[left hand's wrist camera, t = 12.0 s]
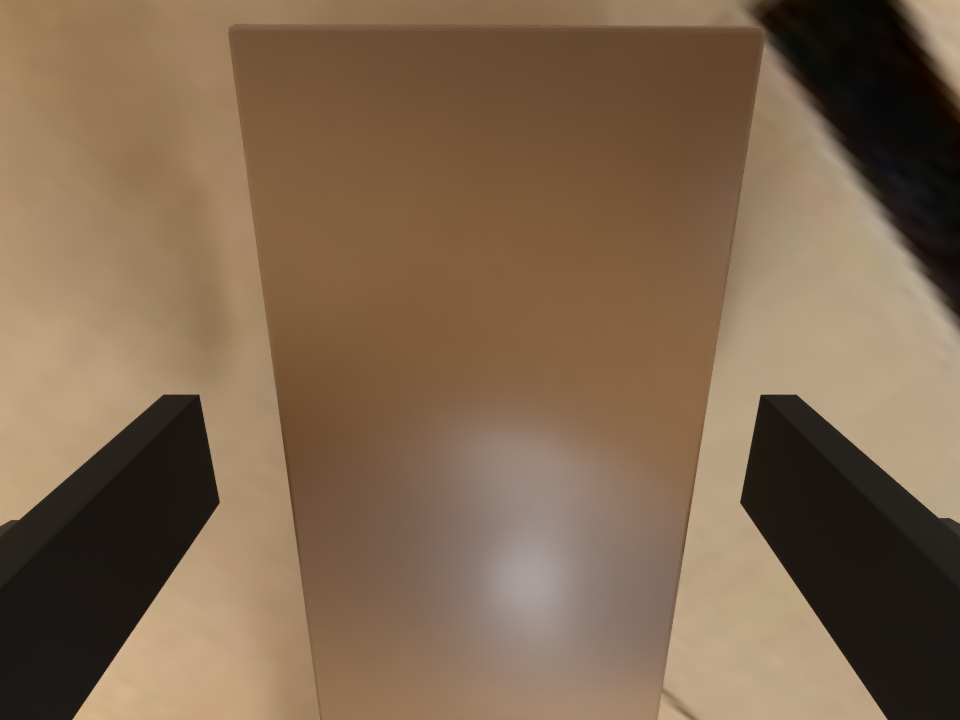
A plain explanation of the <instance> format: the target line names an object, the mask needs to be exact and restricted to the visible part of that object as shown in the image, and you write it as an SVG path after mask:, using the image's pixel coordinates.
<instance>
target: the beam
mask: <svg viewBox="0 0 960 720" xmlns="http://www.w3.org/2000/svg"><path fill="white" fill-rule="evenodd" d="M228 34H229V42H230V49H231V57H232V64H233V72H234V79H235V86H236V94H237V101H238V109H239V116H240V124H241V131H242V139H243V146H244V154H245V161H246V168H247V176H248V183H249V191H250V198H251V206H252V213H253V221H254V228H255V236H256V243H257V250H258V258H259V265H260V273H261V280H262V288H263V295H264V303H265V310H266V318H267V325H268V332H269V340H270V347H271V355H272V362H273V370H274V377H275V385H276V392H277V400H278V407H279V414H280V422H281V429H282V437H283V444H284V452H285V459H286V467H287V474H288V482H289V489H290V496H291V504H292V511H293V519H294V526H295V534H296V541H297V549H298V556H299V564H300V571H301V578H302V586H303V593H304V601H305V608H306V616H307V623H308V631H309V638H310V646H311V653H312V660H313V668H314V675H315V683H316V690H317V698H318V705H319V713H320V720H657V718H658V712H659V705H660V699H661V693H662V686H663V680H664V674H665V667H666V661H667V655H668V648H669V642H670V636H671V629H672V623H673V617H674V610H675V604H676V597H677V591H678V585H679V578H680V572H681V566H682V559H683V553H684V547H685V540H686V534H687V528H688V521H689V515H690V509H691V502H692V496H693V490H694V483H695V477H696V471H697V464H698V458H699V451H700V445H701V439H702V432H703V426H704V420H705V413H706V407H707V401H708V394H709V388H710V382H711V375H712V369H713V363H714V356H715V350H716V344H717V337H718V331H719V325H720V318H721V312H722V305H723V299H724V293H725V286H726V280H727V274H728V267H729V261H730V255H731V248H732V242H733V236H734V229H735V223H736V217H737V210H738V204H739V198H740V191H741V185H742V179H743V172H744V166H745V160H746V153H747V147H748V140H749V134H750V128H751V121H752V115H753V109H754V102H755V96H756V90H757V83H758V77H759V71H760V64H761V58H762V52H763V45H764V39H765V30H764V29H763V28H761V27H759V26H537V25H233V26H231V27H230V28H229V33H228Z"/></svg>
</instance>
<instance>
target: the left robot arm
mask: <svg viewBox="0 0 960 720" xmlns="http://www.w3.org/2000/svg"><path fill="white" fill-rule="evenodd" d="M219 503H220V501H219V496H218V491H217V486H216V480H215V475H214V470H213V465H212V459H211V454H210V449H209V444H208V438H207V433H206V428H205V422H204V417H203V412H202V407H201V401H200V396H199V395H163V396H162V397H160V398H159V399H158V400H157V401H156V402H155V403H153V404H152V405H151V406H150V407H149V408H148V409H147V410H145V411H144V412H143V413H142V414H141V415H140V416H139V417H137V418H136V419H135V420H134V421H133V422H132V423H130V424H129V425H128V426H127V427H126V428H125V429H124V430H122V431H121V432H120V433H119V434H118V435H117V436H115V437H114V438H113V439H112V440H111V441H110V442H109V443H107V444H106V445H105V446H104V447H103V448H102V449H101V450H99V451H98V452H97V453H96V454H95V455H94V456H92V457H91V458H90V459H89V460H88V461H87V462H86V463H84V464H83V465H82V466H81V467H80V468H79V469H78V470H76V471H75V472H74V473H73V474H72V475H71V476H69V477H68V478H67V479H66V480H65V481H64V482H63V483H61V484H60V485H59V486H58V487H57V488H56V489H54V490H53V491H52V492H51V493H50V494H49V495H48V496H46V497H45V498H44V499H43V500H42V501H41V502H40V503H38V504H37V505H36V506H35V507H34V508H33V509H31V510H30V511H29V512H28V513H27V514H26V515H25V516H23V517H22V518H21V519H20V520H11V521H9V522H7V523H5V524H4V525H2V526H0V720H72V719H73V718H74V716H75V715H76V714H77V712H78V711H79V709H80V708H81V706H82V705H83V703H84V702H85V700H86V699H87V697H88V696H89V694H90V693H91V691H92V690H93V689H94V687H95V686H96V684H97V683H98V681H99V680H100V678H101V677H102V675H103V674H104V672H105V671H106V669H107V668H108V666H109V665H110V663H111V662H112V661H113V659H114V658H115V656H116V655H117V653H118V652H119V650H120V649H121V647H122V646H123V644H124V643H125V641H126V640H127V638H128V637H129V636H130V634H131V633H132V631H133V630H134V628H135V627H136V625H137V624H138V622H139V621H140V619H141V618H142V616H143V615H144V613H145V612H146V611H147V609H148V608H149V606H150V605H151V603H152V602H153V600H154V599H155V597H156V596H157V594H158V593H159V591H160V590H161V588H162V587H163V586H164V584H165V583H166V581H167V580H168V578H169V577H170V575H171V574H172V572H173V571H174V569H175V568H176V566H177V565H178V563H179V562H180V560H181V559H182V558H183V556H184V555H185V553H186V552H187V550H188V549H189V547H190V546H191V544H192V543H193V541H194V540H195V538H196V537H197V535H198V534H199V533H200V531H201V530H202V528H203V527H204V525H205V524H206V522H207V521H208V519H209V518H210V516H211V515H212V513H213V512H214V510H215V509H216V508H217V506H218V505H219ZM740 503H741V505H742V506H743V508H744V509H745V510H746V512H747V513H748V515H749V516H750V518H751V519H752V521H753V522H754V524H755V525H756V527H757V528H758V530H759V531H760V533H761V534H762V536H763V537H764V538H765V540H766V541H767V543H768V544H769V546H770V547H771V549H772V550H773V552H774V553H775V555H776V556H777V558H778V559H779V561H780V562H781V563H782V565H783V566H784V568H785V569H786V571H787V572H788V574H789V575H790V577H791V578H792V580H793V581H794V583H795V584H796V586H797V587H798V588H799V590H800V591H801V593H802V594H803V596H804V597H805V599H806V600H807V602H808V603H809V605H810V606H811V608H812V609H813V611H814V612H815V613H816V615H817V616H818V618H819V619H820V621H821V622H822V624H823V625H824V627H825V628H826V630H827V631H828V633H829V634H830V636H831V637H832V638H833V640H834V641H835V643H836V644H837V646H838V647H839V649H840V650H841V652H842V653H843V655H844V656H845V658H846V659H847V661H848V662H849V664H850V665H851V666H852V668H853V669H854V671H855V672H856V674H857V675H858V677H859V678H860V680H861V681H862V683H863V684H864V686H865V687H866V689H867V690H868V691H869V693H870V694H871V696H872V697H873V699H874V700H875V702H876V703H877V705H878V706H879V708H880V709H881V711H882V712H883V714H884V715H885V716H886V718H887V719H888V720H960V524H959V523H957V522H955V521H954V520H952V519H950V518H938V517H937V516H935V515H934V514H933V513H932V512H931V511H930V510H929V509H927V508H926V507H925V506H924V505H923V504H922V503H920V502H919V501H918V500H917V499H916V498H915V497H914V496H912V495H911V494H910V493H909V492H908V491H907V490H906V489H904V488H903V487H902V486H901V485H900V484H899V483H897V482H896V481H895V480H894V479H893V478H892V477H891V476H889V475H888V474H887V473H886V472H885V471H884V470H882V469H881V468H880V467H879V466H878V465H877V464H876V463H874V462H873V461H872V460H871V459H870V458H869V457H868V456H866V455H865V454H864V453H863V452H862V451H861V450H859V449H858V448H857V447H856V446H855V445H854V444H853V443H851V442H850V441H849V440H848V439H847V438H846V437H844V436H843V435H842V434H841V433H840V432H839V431H838V430H836V429H835V428H834V427H833V426H832V425H831V424H830V423H828V422H827V421H826V420H825V419H824V418H823V417H821V416H820V415H819V414H818V413H817V412H816V411H815V410H813V409H812V408H811V407H810V406H809V405H808V404H807V403H805V402H804V401H803V400H802V399H801V398H800V397H798V396H797V395H761V396H760V401H759V407H758V412H757V417H756V422H755V428H754V433H753V438H752V443H751V449H750V454H749V459H748V464H747V470H746V475H745V480H744V486H743V491H742V496H741V501H740Z"/></svg>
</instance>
